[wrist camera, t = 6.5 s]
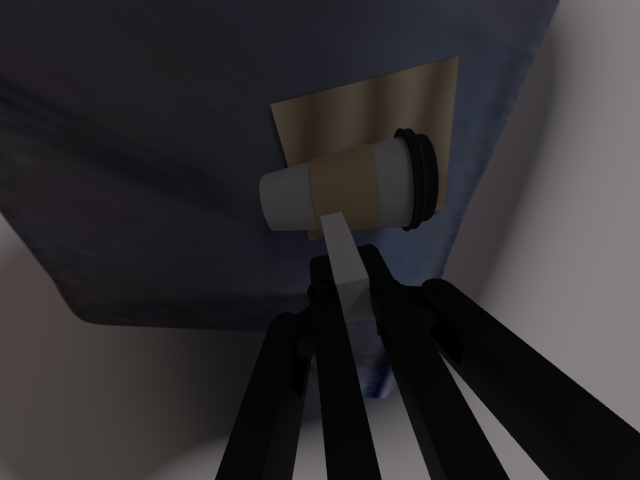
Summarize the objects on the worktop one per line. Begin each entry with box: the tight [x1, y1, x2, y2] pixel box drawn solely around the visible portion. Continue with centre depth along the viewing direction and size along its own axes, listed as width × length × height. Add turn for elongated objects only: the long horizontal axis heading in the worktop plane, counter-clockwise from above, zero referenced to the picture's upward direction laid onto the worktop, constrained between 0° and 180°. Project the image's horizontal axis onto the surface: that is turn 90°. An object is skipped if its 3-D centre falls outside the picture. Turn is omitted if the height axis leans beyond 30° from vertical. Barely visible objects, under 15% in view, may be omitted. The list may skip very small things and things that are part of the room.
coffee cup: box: [259, 128, 439, 231], centre depth 23 cm, size 9×9×15 cm
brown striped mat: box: [270, 56, 459, 241], centre depth 26 cm, size 18×16×1 cm
